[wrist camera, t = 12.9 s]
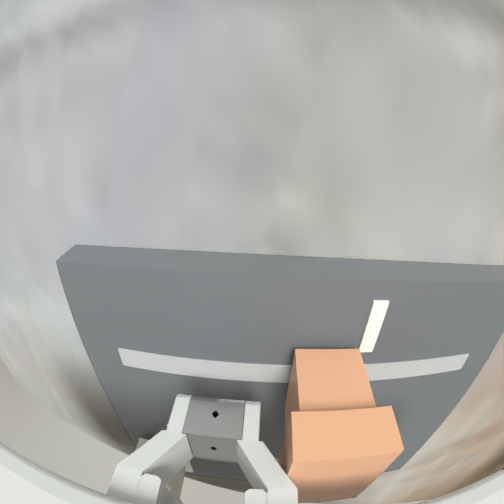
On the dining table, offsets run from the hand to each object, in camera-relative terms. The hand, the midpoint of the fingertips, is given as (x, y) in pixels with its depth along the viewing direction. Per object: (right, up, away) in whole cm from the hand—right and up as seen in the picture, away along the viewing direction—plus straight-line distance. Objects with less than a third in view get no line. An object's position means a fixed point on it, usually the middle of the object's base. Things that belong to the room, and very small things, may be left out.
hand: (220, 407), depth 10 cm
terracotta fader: (+4, 0, +1) cm, 4 cm away
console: (+3, -3, +5) cm, 7 cm away
